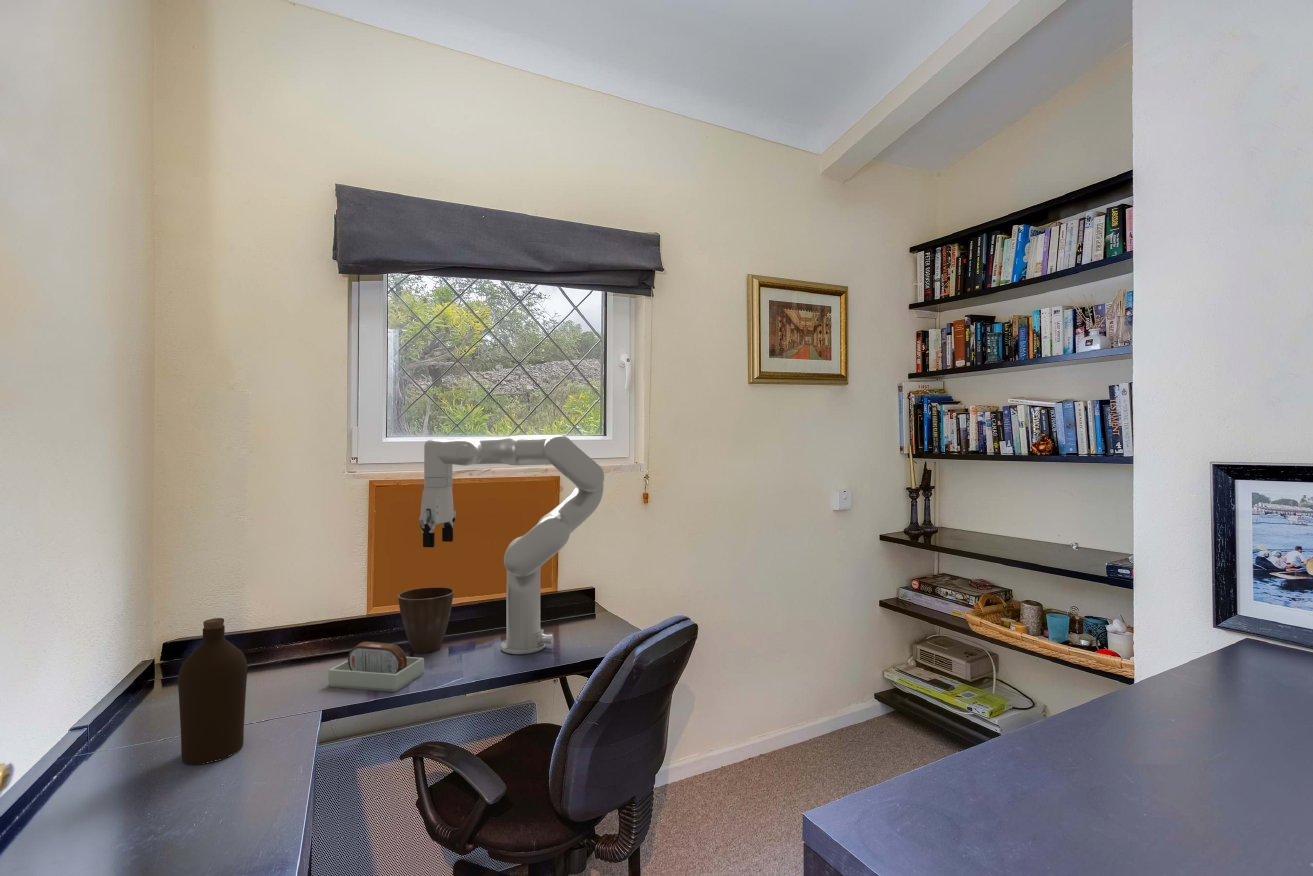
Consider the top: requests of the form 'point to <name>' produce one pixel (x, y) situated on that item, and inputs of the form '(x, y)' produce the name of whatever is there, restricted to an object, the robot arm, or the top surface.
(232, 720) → the olive oil
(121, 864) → the top surface
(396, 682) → the tray
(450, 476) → the robot arm
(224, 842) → the top surface
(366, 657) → the tin
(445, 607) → the plant pot
